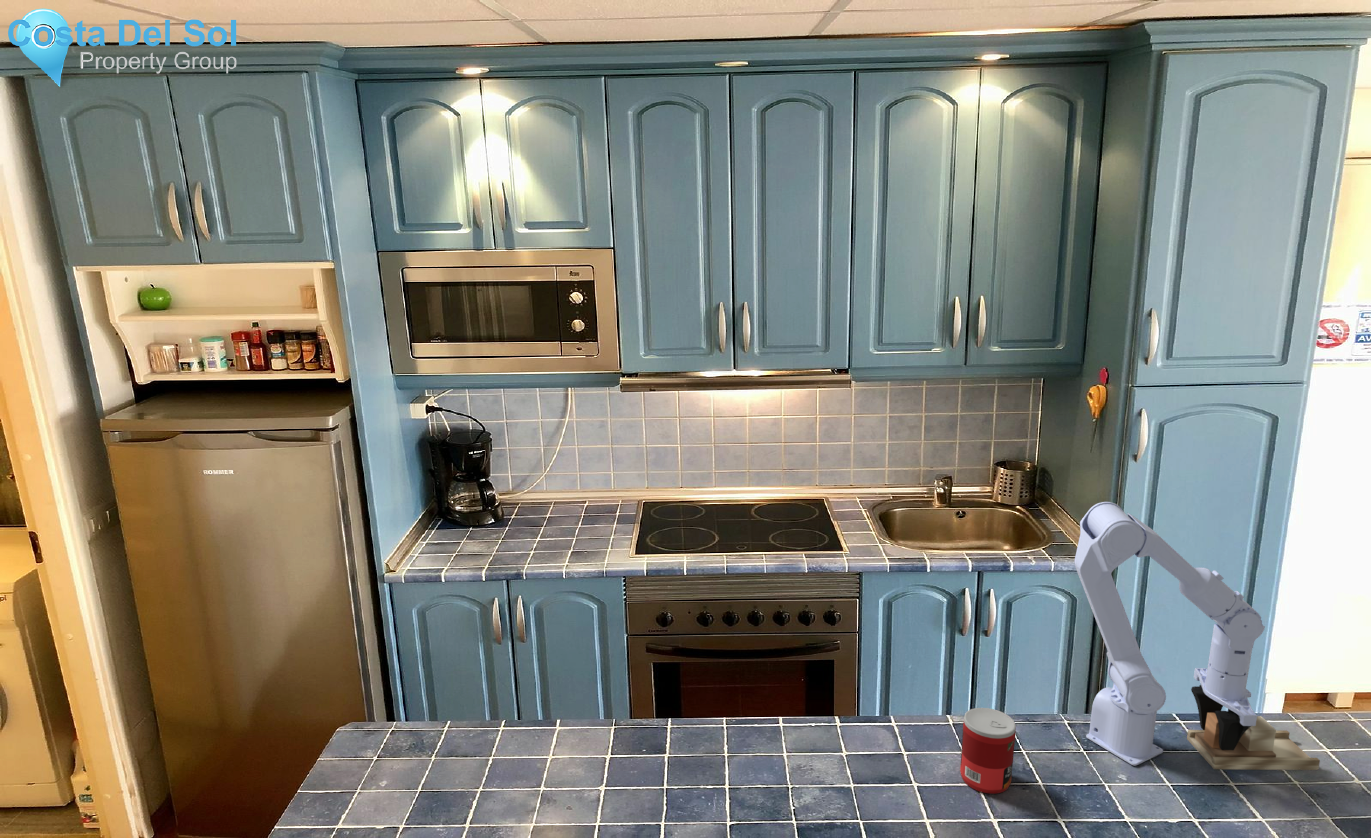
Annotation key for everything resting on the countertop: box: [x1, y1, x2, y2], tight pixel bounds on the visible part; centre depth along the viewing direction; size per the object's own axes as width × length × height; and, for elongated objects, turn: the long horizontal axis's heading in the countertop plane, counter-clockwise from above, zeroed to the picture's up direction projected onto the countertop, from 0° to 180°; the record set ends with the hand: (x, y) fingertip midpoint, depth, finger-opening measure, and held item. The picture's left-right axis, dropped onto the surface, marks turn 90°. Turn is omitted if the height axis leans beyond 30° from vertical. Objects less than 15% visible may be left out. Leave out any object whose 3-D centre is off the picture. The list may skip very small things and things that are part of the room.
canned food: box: [959, 707, 1017, 795], centre depth 138 cm, size 8×8×11 cm
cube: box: [1239, 715, 1277, 751], centre depth 144 cm, size 4×4×4 cm
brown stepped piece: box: [1195, 713, 1276, 757], centre depth 144 cm, size 10×6×6 cm, turn 88°
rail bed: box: [1186, 729, 1321, 771], centre depth 145 cm, size 17×8×2 cm, turn 88°
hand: (1217, 738), depth 145 cm, fingers open, 5 cm apart
